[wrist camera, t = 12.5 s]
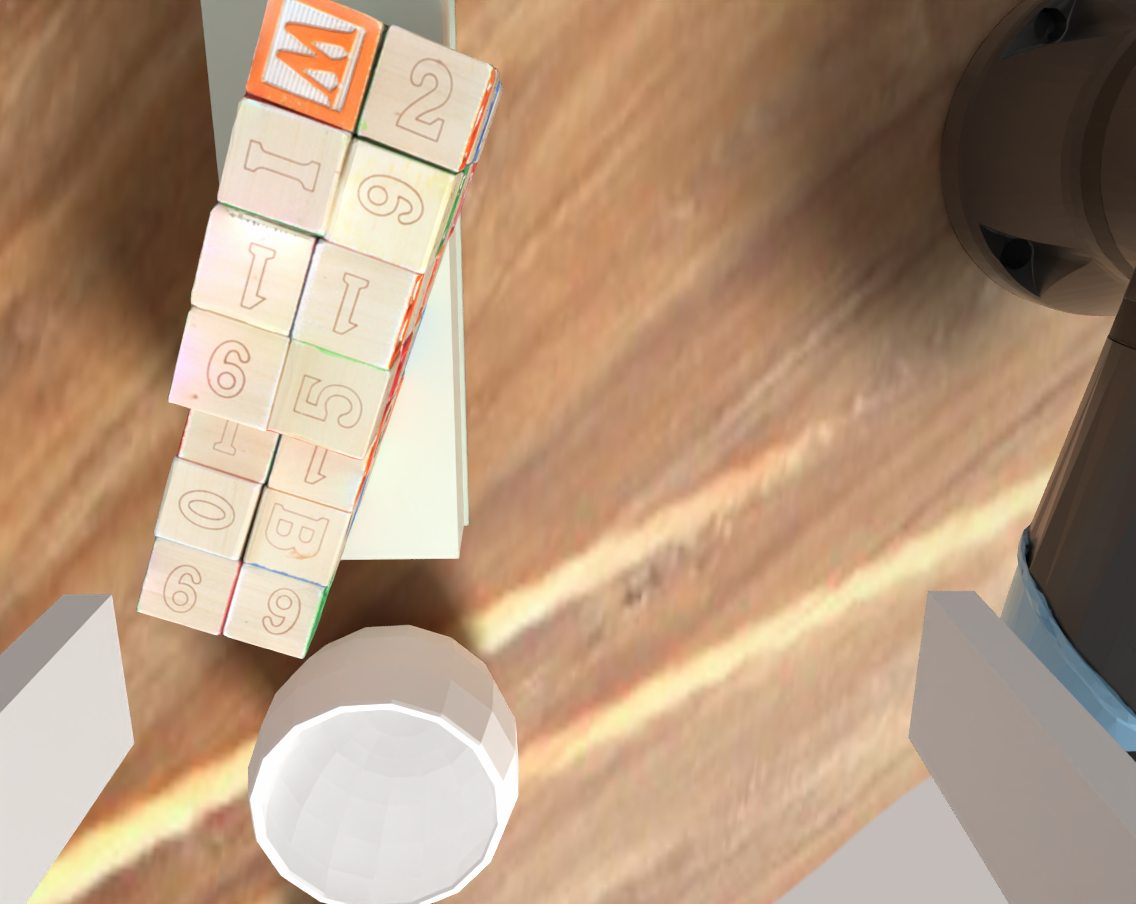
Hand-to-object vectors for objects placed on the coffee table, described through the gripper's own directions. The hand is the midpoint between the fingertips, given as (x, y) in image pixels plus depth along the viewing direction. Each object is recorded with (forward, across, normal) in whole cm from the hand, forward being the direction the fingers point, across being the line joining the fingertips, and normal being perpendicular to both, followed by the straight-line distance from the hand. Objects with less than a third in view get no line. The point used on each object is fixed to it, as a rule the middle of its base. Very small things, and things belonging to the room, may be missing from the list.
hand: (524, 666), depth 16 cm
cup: (+32, +7, +20) cm, 38 cm away
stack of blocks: (+27, +8, -1) cm, 28 cm away
